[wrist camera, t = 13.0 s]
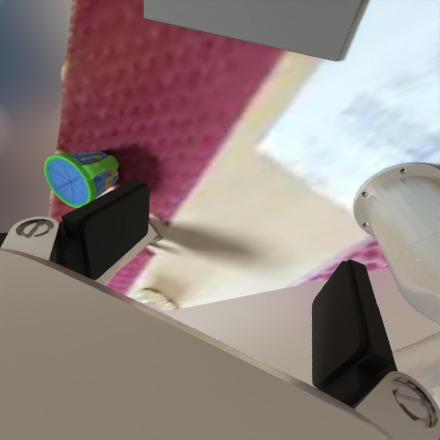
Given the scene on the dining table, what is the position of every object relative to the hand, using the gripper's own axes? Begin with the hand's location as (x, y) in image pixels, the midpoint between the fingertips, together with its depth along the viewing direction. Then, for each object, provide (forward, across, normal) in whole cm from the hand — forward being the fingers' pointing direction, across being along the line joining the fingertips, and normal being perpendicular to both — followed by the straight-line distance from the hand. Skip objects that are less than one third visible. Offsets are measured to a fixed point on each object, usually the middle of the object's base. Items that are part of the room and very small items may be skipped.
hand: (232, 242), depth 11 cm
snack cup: (+30, +35, +17) cm, 49 cm away
